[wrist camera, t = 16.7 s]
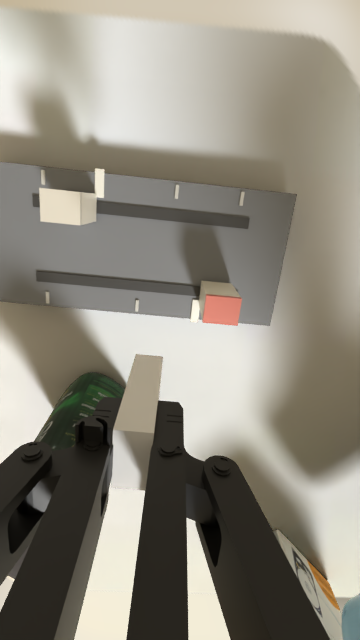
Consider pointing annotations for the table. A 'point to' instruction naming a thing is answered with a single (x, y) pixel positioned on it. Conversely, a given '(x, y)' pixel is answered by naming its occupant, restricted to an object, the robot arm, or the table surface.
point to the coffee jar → (73, 417)
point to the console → (141, 244)
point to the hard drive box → (314, 588)
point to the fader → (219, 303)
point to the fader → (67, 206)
